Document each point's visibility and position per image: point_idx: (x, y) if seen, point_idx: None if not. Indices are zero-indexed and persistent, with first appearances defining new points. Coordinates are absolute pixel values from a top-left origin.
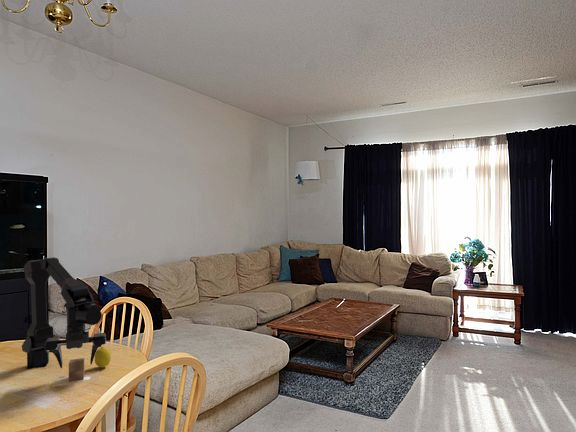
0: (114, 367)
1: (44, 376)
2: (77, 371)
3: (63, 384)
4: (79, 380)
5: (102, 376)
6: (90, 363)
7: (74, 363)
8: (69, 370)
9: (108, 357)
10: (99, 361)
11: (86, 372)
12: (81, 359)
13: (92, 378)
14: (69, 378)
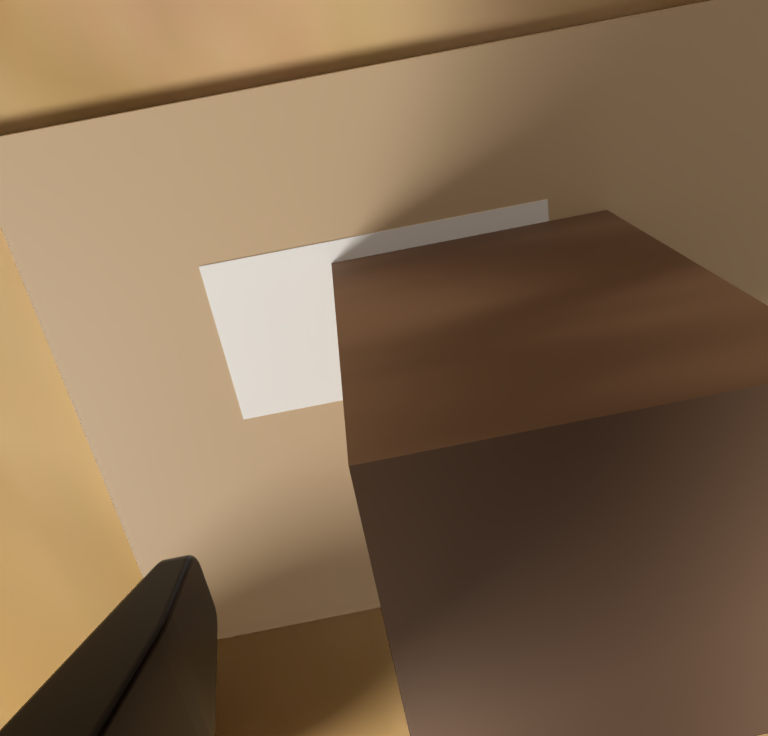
0: None
1: None
2: (485, 311)
3: (692, 64)
4: (404, 241)
5: (19, 422)
6: (184, 573)
7: (659, 402)
8: (708, 290)
9: None
10: None
11: (378, 600)
12: (486, 717)
13: (160, 305)
14: (618, 230)
